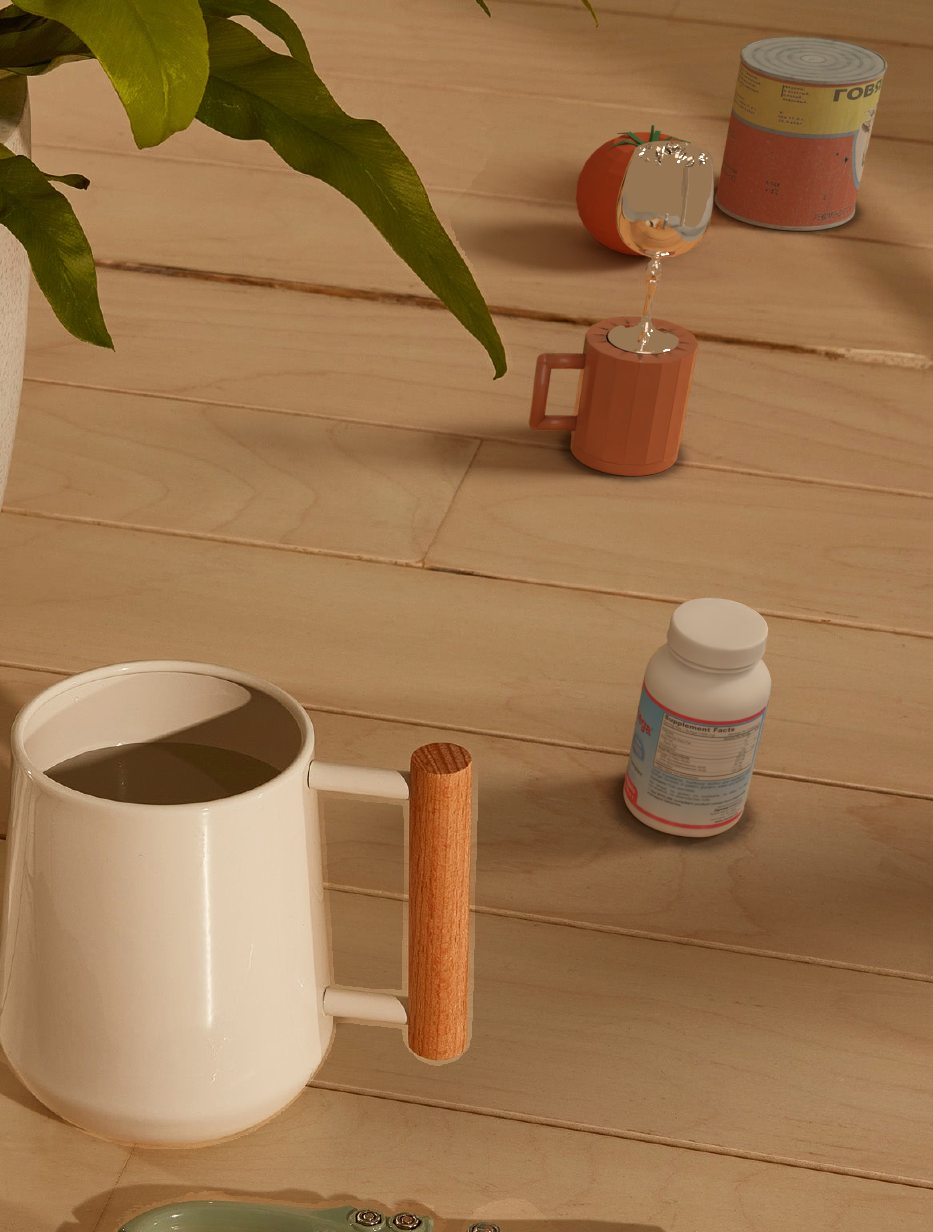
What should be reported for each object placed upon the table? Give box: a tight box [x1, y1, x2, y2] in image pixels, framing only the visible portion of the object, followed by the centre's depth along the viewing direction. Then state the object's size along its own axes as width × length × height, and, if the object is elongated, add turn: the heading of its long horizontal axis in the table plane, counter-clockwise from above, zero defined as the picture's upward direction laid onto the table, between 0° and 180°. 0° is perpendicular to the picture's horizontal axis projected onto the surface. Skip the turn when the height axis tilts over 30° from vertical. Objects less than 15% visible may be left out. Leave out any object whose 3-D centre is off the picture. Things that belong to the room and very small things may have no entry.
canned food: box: [714, 36, 888, 232], centre depth 166 cm, size 11×11×12 cm
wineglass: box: [608, 141, 715, 354], centre depth 127 cm, size 6×6×12 cm
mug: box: [528, 315, 699, 477], centre depth 134 cm, size 10×7×8 cm
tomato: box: [575, 124, 692, 256], centre depth 159 cm, size 10×10×10 cm
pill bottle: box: [622, 597, 772, 838], centre depth 102 cm, size 6×6×11 cm
